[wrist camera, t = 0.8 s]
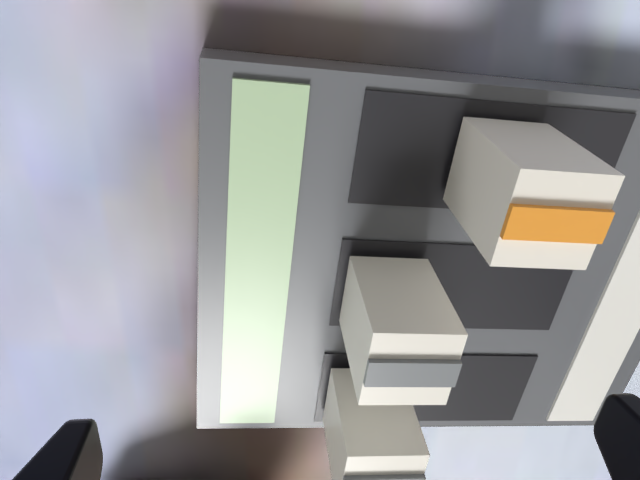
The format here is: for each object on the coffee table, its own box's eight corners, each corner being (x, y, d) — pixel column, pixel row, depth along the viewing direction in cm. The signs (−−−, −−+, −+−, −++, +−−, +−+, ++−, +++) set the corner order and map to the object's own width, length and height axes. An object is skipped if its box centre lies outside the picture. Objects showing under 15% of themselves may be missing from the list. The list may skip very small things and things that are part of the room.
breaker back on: (400, 368, 23) (431, 460, 19) (388, 418, 25) (414, 512, 21) (331, 368, 23) (348, 461, 19) (322, 419, 24) (337, 515, 20)
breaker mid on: (427, 259, 21) (470, 338, 17) (412, 322, 22) (447, 409, 18) (349, 255, 20) (374, 337, 16) (339, 320, 22) (359, 409, 18)
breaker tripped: (548, 123, 18) (629, 178, 14) (521, 203, 20) (589, 273, 16) (463, 116, 18) (524, 171, 14) (442, 199, 19) (492, 270, 15)
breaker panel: (738, 99, 21) (775, 112, 19) (589, 402, 29) (607, 427, 27) (203, 47, 18) (198, 58, 16) (199, 403, 26) (196, 431, 24)
